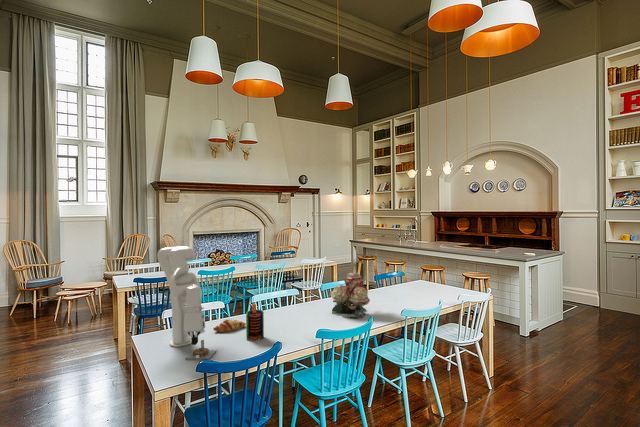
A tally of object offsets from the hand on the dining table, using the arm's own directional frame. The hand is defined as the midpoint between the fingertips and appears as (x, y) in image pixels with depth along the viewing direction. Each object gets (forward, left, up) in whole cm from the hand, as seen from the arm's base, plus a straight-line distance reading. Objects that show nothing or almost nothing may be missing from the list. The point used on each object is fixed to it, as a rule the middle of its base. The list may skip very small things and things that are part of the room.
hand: (194, 343), depth 186 cm
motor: (-24, +27, -6) cm, 36 cm away
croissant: (-38, +8, -6) cm, 39 cm away
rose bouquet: (-72, +88, -6) cm, 114 cm away
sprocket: (+2, +4, -4) cm, 6 cm away
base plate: (+2, +4, -6) cm, 7 cm away
